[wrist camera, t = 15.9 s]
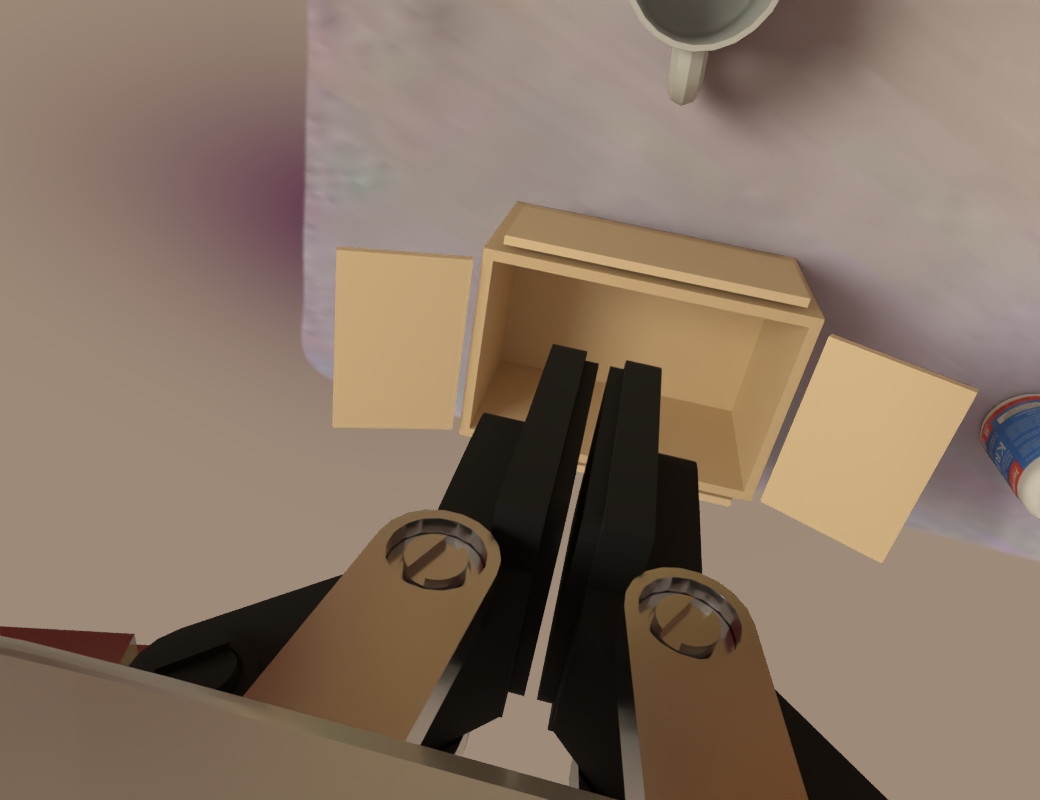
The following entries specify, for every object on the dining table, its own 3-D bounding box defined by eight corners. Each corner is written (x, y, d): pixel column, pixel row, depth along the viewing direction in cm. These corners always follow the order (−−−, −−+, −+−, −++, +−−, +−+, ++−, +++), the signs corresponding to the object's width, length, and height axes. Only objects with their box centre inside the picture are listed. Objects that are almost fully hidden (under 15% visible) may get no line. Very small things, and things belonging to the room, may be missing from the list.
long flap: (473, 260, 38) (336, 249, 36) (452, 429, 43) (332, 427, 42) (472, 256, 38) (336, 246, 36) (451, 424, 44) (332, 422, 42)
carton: (801, 245, 45) (833, 305, 36) (734, 427, 52) (747, 513, 43) (519, 188, 46) (485, 232, 37) (491, 372, 53) (457, 445, 44)
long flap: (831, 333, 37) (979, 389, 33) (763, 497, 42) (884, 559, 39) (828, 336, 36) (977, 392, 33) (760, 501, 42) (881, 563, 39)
